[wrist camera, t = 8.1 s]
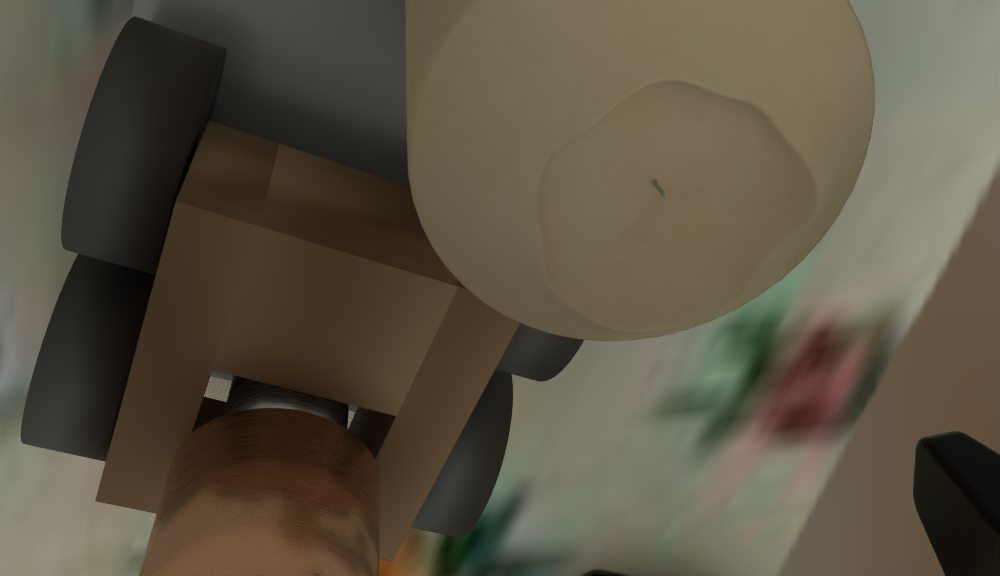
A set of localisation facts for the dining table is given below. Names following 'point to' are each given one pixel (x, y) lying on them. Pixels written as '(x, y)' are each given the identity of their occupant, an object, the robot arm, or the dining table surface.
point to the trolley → (262, 301)
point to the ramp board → (307, 75)
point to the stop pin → (269, 492)
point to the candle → (631, 151)
